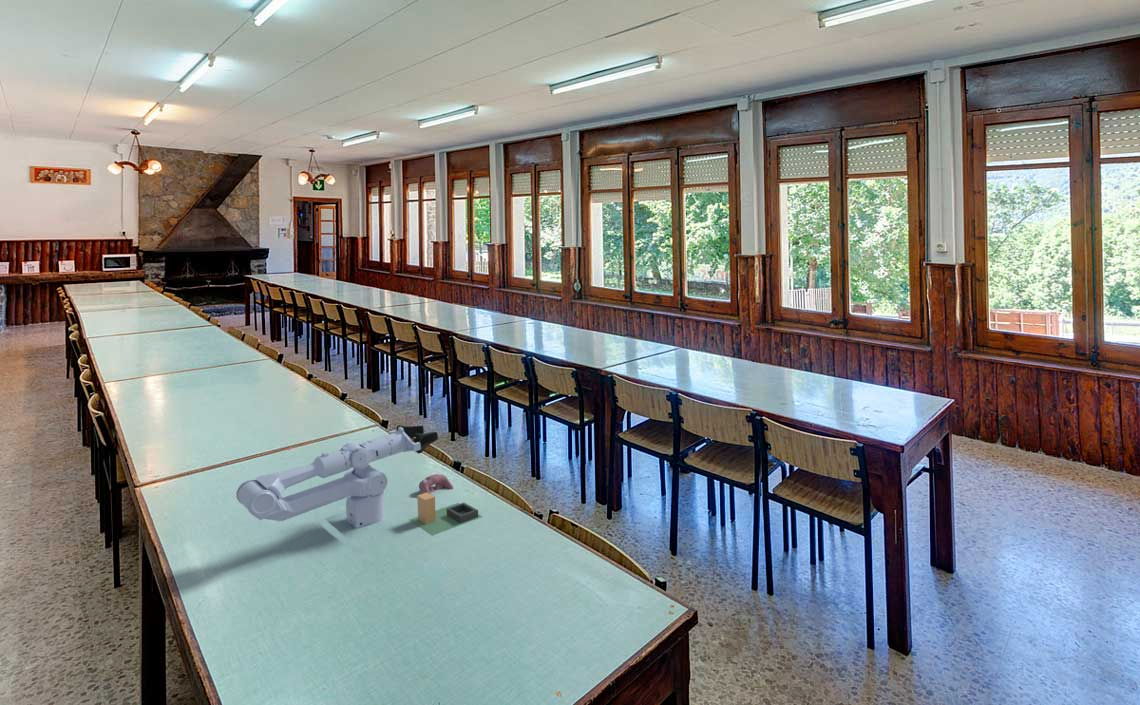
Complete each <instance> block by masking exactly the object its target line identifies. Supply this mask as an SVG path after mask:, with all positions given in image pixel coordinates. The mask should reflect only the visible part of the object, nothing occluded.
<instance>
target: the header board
mask: <svg viewBox="0 0 1140 705" xmlns="http://www.w3.org/2000/svg"><path fill="white" fill-rule="evenodd" d="M435 516H436V521H434V522H431V523H428V524H425V523H423V522H421V521H420V520H418V516H416V517H413V518H409V521H410V522H411V523H413V524H414V525H416V526H417V527H419V528H420V529H421V530H424V531H425V532H426V533H427V534H430V535H431V536H434V535H437V534H440V533H443V532H446V531H449V530H451V529H453V528H456V527H459V526H462V525H465V524H466V523H470V522H472V521H474V520H475V521H476V520H478V519H480V518H483V516H482V515H481V514H479V510H478V509H476V508H475V507H473V506H471V505H470V504H467V503H466V502H462V503H459V502H457V503H456V502H455V503H454V504H450V505H448V506H445V507H442V508H439V509H435Z"/></svg>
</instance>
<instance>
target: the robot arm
mask: <svg viewBox="0 0 1140 705" xmlns="http://www.w3.org/2000/svg"><path fill="white" fill-rule="evenodd" d="M424 430H425V428H424V426H423V425H401V424H399V425H396V430H395V429H392V430H390V431H388V433H387V434H386V435H383V436H380V437H377V438H373V439H369V440H367V441H364V442H359V444H357V443H355V442H351V443H349V442H347V443H345V444H344V445H342V447H340V449H338V450H334V451H330V452H327V451H324V452H322V453H321V455H319V456H317V457H315V459H314V461H312V463H308V464H304V465H300V466H297V467H294V468H289V469H286V470H282V471H279V472H275V473H274V472H273V473H270V474H269V473H268V474H264V475H259V476H257V477H255V479H249V480H246V481H243V482H242V483H241V484H240V485H239V486H238V487H237V490H236V493H235V495H236V499H237V501H238V503H240V504H241V505H242V506H243V507H245V509H247V511H248V513H250V515H251V516H253V517H254V518H256V519H258V520H259V521H261V520H270V521H277V522H284V521H286V520H288V519H291V518H295V517H297V516H300V515H303V514H305V513H308V512H311V511H313V510H316V509H318V508H322V507H325V506H326V505H327V506H328V505H330V504H332V503H335V502H338V501H341V500H343V499H346V500H345V507H346V521H347V522H348V523H349V524H351V525H352V526H353V527H354V528H355V529H359V528H362V527H365V526H369V525H374V524H377V523H379V522H382V521H383V520H384V519H385V516H386V515H385V497H384V495H385V494H384V491H385V489H386V488H387V486H388V477H387V475H386V474H385V473H384V472H381V471H379V470H377V469H376V468H374V467H373V466H371V465H370V463H373V462H376V461H379V460H381V459H385V458H388V457H390V456H395V455H397V454H400V453H406V452H415V453H417V454H422V453H423V452H424V450H426V448H427V447H429V446H430V445H431V444H432V443H434V442H436V441H438V440H439V436H438V435H439V434H438V432H436V431H431V432H427V433H425V431H424ZM412 439H413V440H412ZM350 469H351V470H350ZM343 472H345V473H344V476H342V477H339V478H337V479H334V480H331V481H328V482H325V483H322V484H319V485H317V486H313V487H310V488H307V489H304V490H301V491H299V492H295V493H293V494H289V495H287V496H284V497H283V495H284V493H285V492H286V490H287V488H289V487H291V486H296V485H297V484H300V483H303V482H304V481H307V480H310V479H313V478H315V477H319V478H321V479H326V478H329V477H331V476H335V475H338V474H340V473H343Z"/></svg>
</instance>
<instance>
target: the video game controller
mask: <svg viewBox="0 0 1140 705" xmlns="http://www.w3.org/2000/svg"><path fill="white" fill-rule="evenodd" d="M432 486H435V487H432ZM418 488H419V491H420V492H421V494H423V493H429V494H431V495H432V493H433V492H435V490H436V491H438V490H441V489H443V488H446V489H449V490H454V486H453V484H452V483H451V481H450V480H449V478H447V476H446V475H444V474H443V473H439V474H438V473H437V474H435V473H434V474H432V475H428V476H427V477H425V478H424V479H422V480H421V481H420V482H419V484H418Z"/></svg>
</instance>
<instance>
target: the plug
mask: <svg viewBox="0 0 1140 705" xmlns="http://www.w3.org/2000/svg"><path fill="white" fill-rule="evenodd" d="M416 498H417V499H416V500H417V517H418V520H420V521H421V522H423V523H425V524H428V523H431V522H434V521H436V516H435V511H436V496H434V495H433V494H432V493H431V494H429V493H420V494H418V495H417V496H416Z"/></svg>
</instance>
